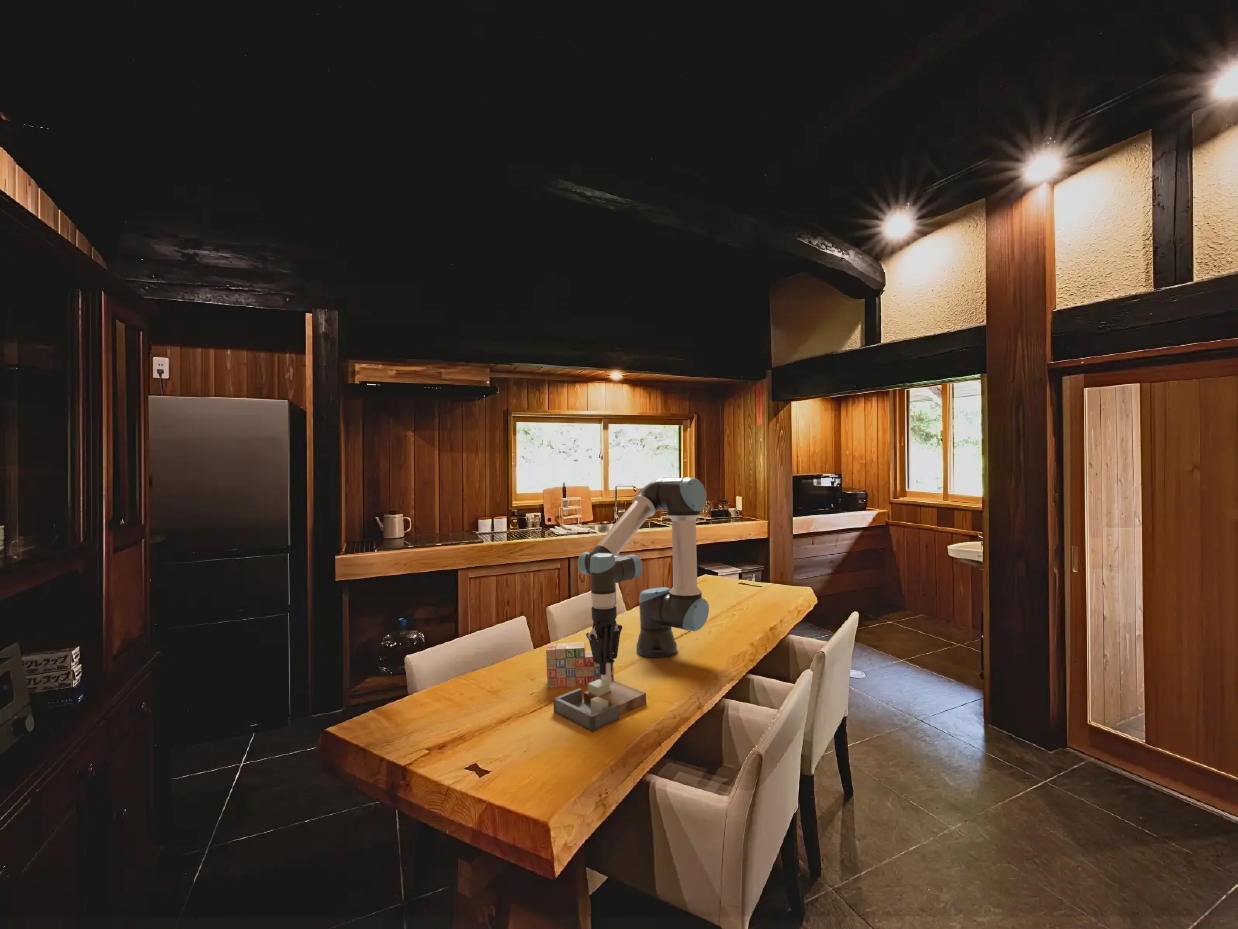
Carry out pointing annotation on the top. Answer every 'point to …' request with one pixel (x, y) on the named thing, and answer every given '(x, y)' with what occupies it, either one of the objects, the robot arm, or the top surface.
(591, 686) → the tile
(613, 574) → the robot arm
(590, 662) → the stack of blocks
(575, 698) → the tray
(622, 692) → the board
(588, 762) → the top surface
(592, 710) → the tile
